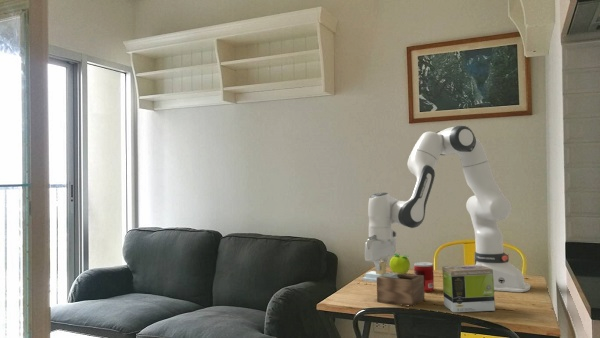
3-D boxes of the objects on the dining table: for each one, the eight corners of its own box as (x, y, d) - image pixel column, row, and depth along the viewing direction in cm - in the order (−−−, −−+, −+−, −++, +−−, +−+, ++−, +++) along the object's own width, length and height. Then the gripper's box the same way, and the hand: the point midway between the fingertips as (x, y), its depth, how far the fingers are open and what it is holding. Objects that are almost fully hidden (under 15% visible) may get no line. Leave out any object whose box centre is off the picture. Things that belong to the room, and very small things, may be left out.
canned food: (434, 288, 206) (433, 262, 206) (433, 292, 198) (433, 265, 199) (415, 287, 208) (414, 261, 208) (414, 291, 200) (413, 265, 201)
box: (424, 299, 188) (423, 275, 188) (411, 306, 178) (411, 281, 178) (391, 295, 196) (390, 272, 196) (377, 301, 186) (376, 277, 186)
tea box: (483, 304, 179) (482, 263, 179) (495, 311, 169) (494, 269, 169) (443, 305, 179) (441, 265, 179) (452, 313, 168) (451, 270, 169)
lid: (400, 279, 192) (399, 261, 192) (390, 283, 184) (389, 265, 185) (372, 276, 199) (372, 259, 199) (362, 280, 191) (361, 262, 192)
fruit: (398, 272, 242) (397, 251, 242) (413, 274, 235) (412, 253, 235) (386, 274, 236) (385, 254, 236) (401, 277, 229) (400, 256, 229)
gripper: (375, 237, 182) (376, 274, 181) (398, 231, 198) (399, 266, 198) (360, 236, 185) (361, 273, 185) (384, 231, 202) (385, 264, 202)
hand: (380, 269), depth 192 cm, fingers closed on lid, 3 cm apart
